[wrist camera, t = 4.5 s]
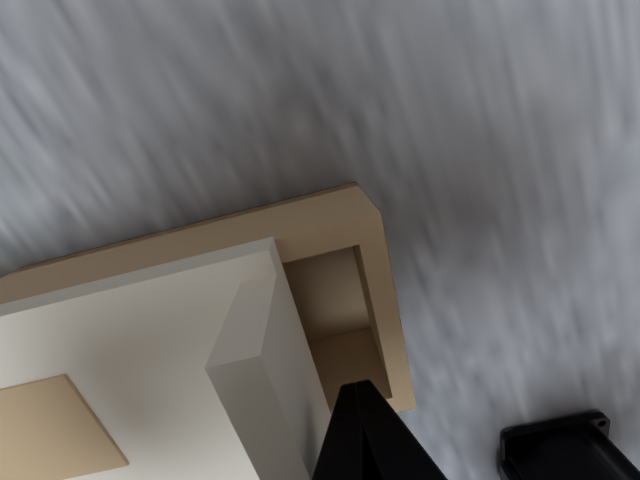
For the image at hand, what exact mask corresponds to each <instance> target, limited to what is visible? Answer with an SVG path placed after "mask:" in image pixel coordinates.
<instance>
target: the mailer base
mask: <svg viewBox="0 0 640 480" xmlns="http://www.w3.org/2000/svg"><path fill="white" fill-rule="evenodd" d="M269 237H273V238H274V241H275V245H276V248H277V251H278V254H279V257H280V260H281V263H282V266H283V269H284V272H285V275H286V278H287V281H288V284H289V287H290V291H291V294H292V297H293V300H294V303H295V306H296V309H297V312H298V315H299V318H300V321H301V324H302V327H303V330H304V333H305V337H306V340H307V343H308V346H309V349H310V352H311V355H312V358H313V361H314V364H315V367H316V370H317V373H318V376H319V380H320V383H321V386H322V389H323V392H324V395H325V398H326V401H327V404H328V407H329V410H330V413H331V415H332V412H333V409H334V405H335V402H336V399H337V396H338V392H339V389H340V387H341V385H342V384H346V383H351V382H355V383H356V382H357V381H360V380H365V379H370V380H371V381H372V382H373V383H374V385H375V386H376V387H377V389H378V390H379V391H380V393H381V394H382V395H383V396H384V398H385V399H386V400H387V402H388V403H389V404H390V405H391V407H392V408H393V409H394V411H395V412H396V413H398V412H402V411H407V410H412V409H416V403H415V397H414V392H413V386H412V381H411V375H410V370H409V364H408V359H407V353H406V348H405V342H404V337H403V331H402V326H401V320H400V315H399V309H398V304H397V298H396V293H395V287H394V282H393V276H392V271H391V265H390V260H389V254H388V249H387V243H386V238H385V232H384V227H383V221H382V216H381V212H380V211H379V210H378V209H377V208H376V206H375V205H374V204H373V203H372V202H371V200H370V199H369V198H368V197H367V195H366V194H365V193H364V192H363V191H362V189H361V188H360V187H359V186H358V185H357V183H356V182H354V183H350V184H346V185H342V186H338V187H334V188H330V189H326V190H322V191H318V192H314V193H311V194H307V195H303V196H299V197H295V198H291V199H287V200H283V201H279V202H275V203H271V204H267V205H263V206H260V207H256V208H252V209H248V210H244V211H240V212H236V213H232V214H228V215H224V216H220V217H216V218H212V219H209V220H205V221H201V222H197V223H193V224H189V225H185V226H181V227H177V228H173V229H169V230H165V231H161V232H158V233H154V234H150V235H146V236H142V237H138V238H134V239H130V240H126V241H122V242H118V243H114V244H110V245H107V246H103V247H99V248H95V249H91V250H87V251H83V252H79V253H75V254H71V255H67V256H63V257H59V258H55V259H52V260H48V261H44V262H40V263H36V264H32V265H28V266H24V267H21V268H19V269H17V270H15V271H13V272H11V273H9V274H7V275H5V276H3V277H1V278H0V304H4V303H8V302H12V301H16V300H20V299H24V298H28V297H32V296H36V295H40V294H44V293H48V292H52V291H56V290H60V289H64V288H68V287H72V286H76V285H80V284H84V283H88V282H92V281H96V280H100V279H104V278H108V277H112V276H116V275H120V274H124V273H128V272H132V271H136V270H140V269H144V268H148V267H152V266H156V265H160V264H164V263H169V262H173V261H177V260H181V259H185V258H189V257H193V256H197V255H201V254H205V253H209V252H213V251H217V250H221V249H225V248H229V247H233V246H237V245H241V244H245V243H249V242H253V241H257V240H261V239H265V238H269Z"/></svg>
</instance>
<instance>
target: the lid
mask: <svg viewBox="0 0 640 480" xmlns="http://www.w3.org/2000/svg"><path fill="white" fill-rule="evenodd" d="M330 418H331V413H330V410H329V407H328V404H327V401H326V398H325V395H324V392H323V389H322V386H321V383H320V380H319V376H318V373H317V370H316V367H315V364H314V361H313V358H312V355H311V352H310V349H309V346H308V343H307V340H306V337H305V333H304V330H303V327H302V324H301V321H300V318H299V315H298V312H297V309H296V306H295V303H294V300H293V297H292V294H291V291H290V287H289V284H288V281H287V278H286V275H285V272H284V269H283V266H282V263H281V260H280V257H279V254H278V251H277V248H276V245H275V241H274V238H273V237H269V238H265V239H261V240H257V241H253V242H249V243H245V244H241V245H237V246H233V247H229V248H225V249H221V250H217V251H213V252H209V253H205V254H201V255H197V256H193V257H189V258H185V259H181V260H177V261H173V262H169V263H164V264H160V265H156V266H152V267H148V268H144V269H140V270H136V271H132V272H128V273H124V274H120V275H116V276H112V277H108V278H104V279H100V280H96V281H92V282H88V283H84V284H80V285H76V286H72V287H68V288H64V289H60V290H56V291H52V292H48V293H44V294H40V295H36V296H32V297H28V298H24V299H20V300H16V301H12V302H8V303H4V304H0V480H311V479H312V476H313V473H314V470H315V467H316V463H317V460H318V457H319V454H320V450H321V447H322V444H323V441H324V438H325V434H326V431H327V428H328V425H329V421H330Z"/></svg>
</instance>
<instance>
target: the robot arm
mask: <svg viewBox="0 0 640 480" xmlns="http://www.w3.org/2000/svg"><path fill="white" fill-rule="evenodd" d="M609 427H610V420H609V419H608V418H607V417H606V416H605V415H604V414H603V413H602V412H596V413H591V414H586V415H581V416H576V417H572V418H567V419H562V420H557V421H552V422H548V423H543V424H538V425H533V426H528V427H523V428H519V429H514V430H509V431H506V432H504V433H503V434H502V435H501V451H502V461H501V463H500V478H501V480H640V471H639V470H638V469H637V468H636V467H635V466H634V465H633V464H632V463H631V462H630V461H629V460H628V459H627V458H626V456H625V455H624V454H623V453H622V452H621V451H620V450H619V449H618V448H617V447H616V446H615V445H614V444H613V443H612V442H611V441H610V440H609V439H608V434H609ZM311 480H448V479H447V478H446V477H445V475H444V474H443V473H442V472H441V470H440V469H439V468H438V466H437V465H436V464H435V462H434V461H433V460H432V459H431V457H430V456H429V455H428V453H427V452H426V451H425V450H424V448H423V447H422V446H421V444H420V443H419V442H418V440H417V439H416V438H415V437H414V435H413V434H412V433H411V431H410V430H409V429H408V428H407V426H406V425H405V424H404V422H403V421H402V420H401V418H400V417H399V416H398V415H397V413H396V412H395V411H394V409H393V408H392V407H391V405H390V404H389V403H388V402H387V400H386V399H385V398H384V396H383V395H382V394H381V393H380V391H379V390H378V389H377V387H376V386H375V385H374V383H373V382H372V381H371V380H370V379H365V380H360V381H357V382H356V383H355V382H351V383H346V384H342V385H341V387H340V389H339V392H338V396H337V399H336V402H335V405H334V409H333V412H332V415H331V418H330V421H329V425H328V428H327V431H326V434H325V438H324V441H323V444H322V447H321V450H320V454H319V457H318V460H317V463H316V467H315V470H314V473H313V476H312V479H311Z"/></svg>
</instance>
